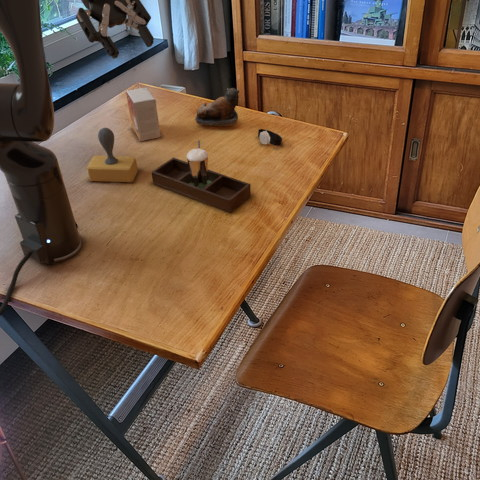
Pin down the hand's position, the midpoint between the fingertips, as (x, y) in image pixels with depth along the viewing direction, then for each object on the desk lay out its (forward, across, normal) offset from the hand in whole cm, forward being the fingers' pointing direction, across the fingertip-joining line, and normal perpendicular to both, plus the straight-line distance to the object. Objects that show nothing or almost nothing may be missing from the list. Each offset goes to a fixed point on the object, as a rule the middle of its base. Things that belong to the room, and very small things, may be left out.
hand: (134, 50), depth 117 cm
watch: (+27, +29, +14) cm, 42 cm away
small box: (+8, +11, +33) cm, 36 cm away
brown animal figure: (+15, +27, +26) cm, 40 cm away
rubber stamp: (+16, -7, +25) cm, 30 cm away
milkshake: (+29, +3, +10) cm, 31 cm away
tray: (+30, +3, +11) cm, 32 cm away
